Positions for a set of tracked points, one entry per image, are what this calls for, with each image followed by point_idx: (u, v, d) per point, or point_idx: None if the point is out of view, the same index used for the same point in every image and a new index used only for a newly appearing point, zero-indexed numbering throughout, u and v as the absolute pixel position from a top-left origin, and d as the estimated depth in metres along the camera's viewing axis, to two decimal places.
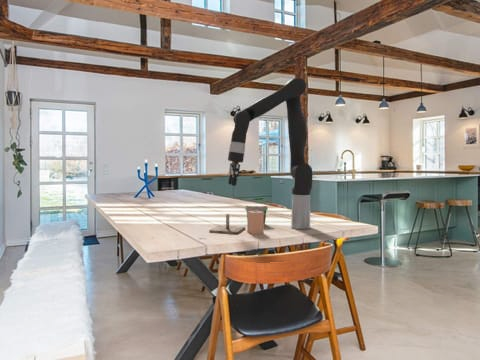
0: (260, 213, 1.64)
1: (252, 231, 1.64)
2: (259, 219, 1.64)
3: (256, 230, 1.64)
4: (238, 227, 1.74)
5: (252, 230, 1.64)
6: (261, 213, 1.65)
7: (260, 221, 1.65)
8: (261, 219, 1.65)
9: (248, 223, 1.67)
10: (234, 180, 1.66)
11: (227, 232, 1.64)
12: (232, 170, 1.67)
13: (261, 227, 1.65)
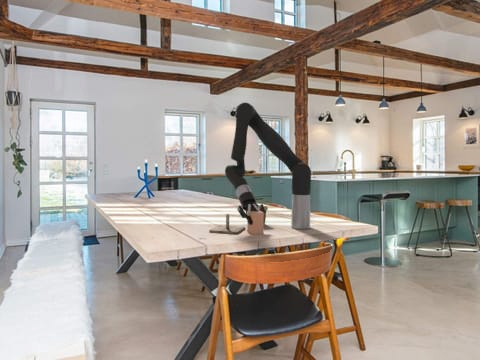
0: (260, 213, 1.64)
1: (252, 231, 1.64)
2: (259, 219, 1.64)
3: (256, 230, 1.64)
4: (238, 227, 1.74)
5: (252, 230, 1.64)
6: (261, 213, 1.65)
7: (260, 221, 1.65)
8: (261, 219, 1.65)
9: (248, 223, 1.67)
10: (247, 219, 1.65)
11: (227, 232, 1.64)
12: (245, 213, 1.69)
13: (261, 227, 1.65)
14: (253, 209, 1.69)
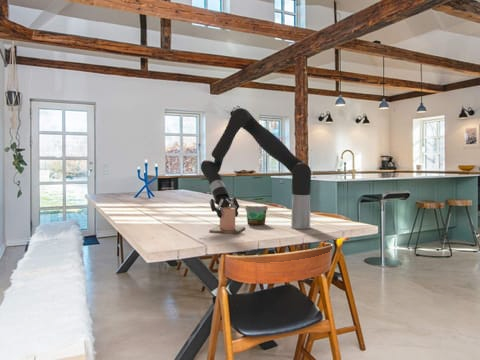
0: (232, 209, 1.68)
1: (224, 227, 1.68)
2: (231, 215, 1.68)
3: (228, 226, 1.68)
4: (238, 227, 1.74)
5: (224, 226, 1.68)
6: (233, 209, 1.69)
7: (232, 217, 1.69)
8: (232, 215, 1.69)
9: (220, 219, 1.71)
10: (217, 213, 1.68)
11: (227, 232, 1.64)
12: None
13: (233, 223, 1.69)
14: (227, 204, 1.73)
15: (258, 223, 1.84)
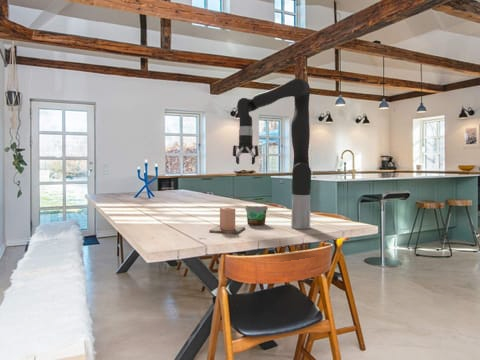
0: (232, 209, 1.68)
1: (224, 227, 1.68)
2: (231, 215, 1.68)
3: (228, 226, 1.68)
4: (238, 227, 1.74)
5: (224, 226, 1.68)
6: (233, 209, 1.69)
7: (232, 217, 1.69)
8: (232, 215, 1.69)
9: (220, 219, 1.71)
10: None
11: (227, 232, 1.64)
12: None
13: (233, 223, 1.69)
14: (246, 152, 1.93)
15: (258, 223, 1.84)
